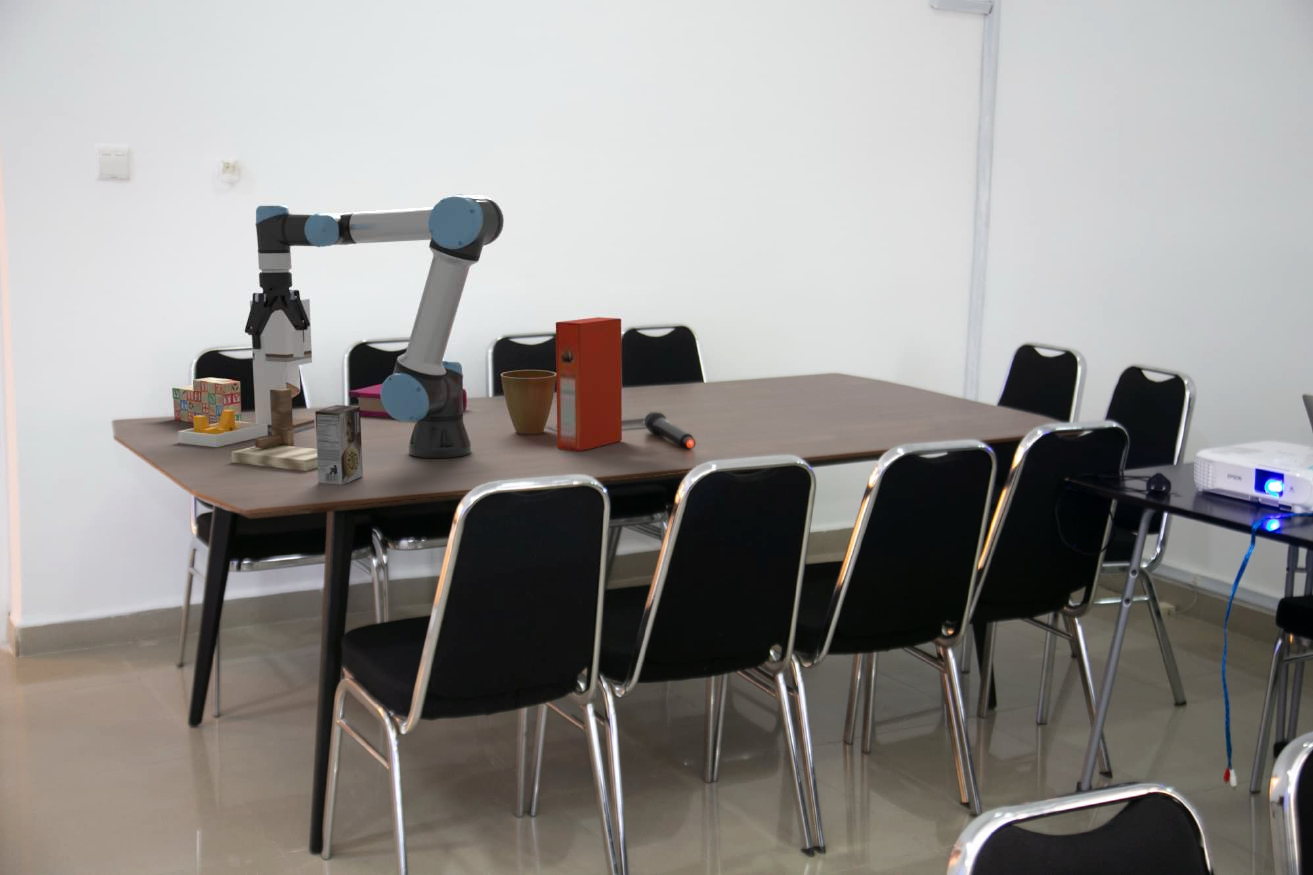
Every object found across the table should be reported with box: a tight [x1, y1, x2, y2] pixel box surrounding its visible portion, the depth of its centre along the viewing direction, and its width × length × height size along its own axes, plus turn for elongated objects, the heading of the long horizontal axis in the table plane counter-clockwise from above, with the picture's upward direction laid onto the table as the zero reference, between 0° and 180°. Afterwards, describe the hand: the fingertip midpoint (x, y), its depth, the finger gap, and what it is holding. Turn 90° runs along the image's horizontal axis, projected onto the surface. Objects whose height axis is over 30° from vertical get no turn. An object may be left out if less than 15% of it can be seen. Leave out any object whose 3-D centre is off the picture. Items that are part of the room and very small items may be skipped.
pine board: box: [230, 445, 318, 472], centre depth 303 cm, size 22×12×3 cm, turn 65°
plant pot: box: [500, 369, 557, 435], centre depth 343 cm, size 15×15×16 cm
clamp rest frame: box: [177, 421, 269, 448], centre depth 331 cm, size 13×19×3 cm
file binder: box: [555, 316, 623, 452], centre depth 325 cm, size 8×17×32 cm, turn 146°
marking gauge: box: [254, 388, 295, 448], centre depth 308 cm, size 5×10×16 cm, turn 155°
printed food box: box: [314, 404, 364, 486], centre depth 283 cm, size 9×6×16 cm
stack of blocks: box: [171, 377, 243, 425], centre depth 356 cm, size 21×6×12 cm, turn 58°
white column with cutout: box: [249, 298, 316, 434], centre depth 343 cm, size 11×11×35 cm
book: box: [348, 383, 468, 418], centre depth 376 cm, size 21×28×8 cm
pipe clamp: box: [193, 410, 235, 435], centre depth 333 cm, size 12×4×6 cm, turn 155°
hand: (280, 359), depth 308 cm, fingers open, 13 cm apart
